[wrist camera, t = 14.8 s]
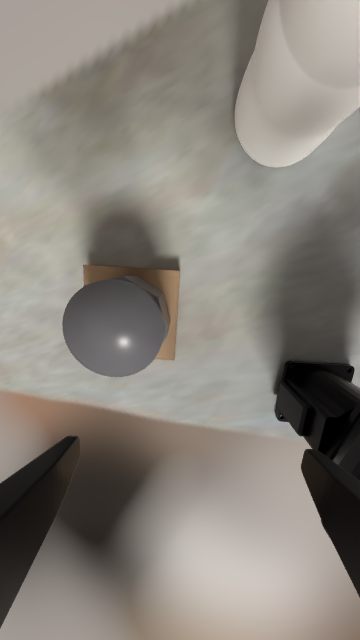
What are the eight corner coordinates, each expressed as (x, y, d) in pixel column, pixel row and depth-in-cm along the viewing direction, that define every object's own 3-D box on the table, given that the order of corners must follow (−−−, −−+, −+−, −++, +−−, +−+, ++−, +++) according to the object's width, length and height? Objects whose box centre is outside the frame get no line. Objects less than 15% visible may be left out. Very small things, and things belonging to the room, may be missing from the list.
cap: (84, 287, 17) (47, 293, 13) (157, 270, 17) (148, 268, 12) (107, 356, 19) (81, 385, 14) (175, 341, 18) (173, 366, 14)
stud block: (179, 270, 18) (179, 270, 14) (174, 355, 20) (172, 379, 16) (89, 265, 18) (58, 262, 14) (92, 350, 20) (66, 373, 15)
